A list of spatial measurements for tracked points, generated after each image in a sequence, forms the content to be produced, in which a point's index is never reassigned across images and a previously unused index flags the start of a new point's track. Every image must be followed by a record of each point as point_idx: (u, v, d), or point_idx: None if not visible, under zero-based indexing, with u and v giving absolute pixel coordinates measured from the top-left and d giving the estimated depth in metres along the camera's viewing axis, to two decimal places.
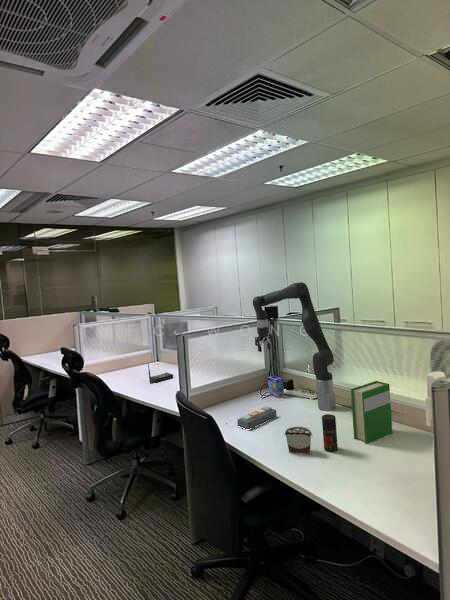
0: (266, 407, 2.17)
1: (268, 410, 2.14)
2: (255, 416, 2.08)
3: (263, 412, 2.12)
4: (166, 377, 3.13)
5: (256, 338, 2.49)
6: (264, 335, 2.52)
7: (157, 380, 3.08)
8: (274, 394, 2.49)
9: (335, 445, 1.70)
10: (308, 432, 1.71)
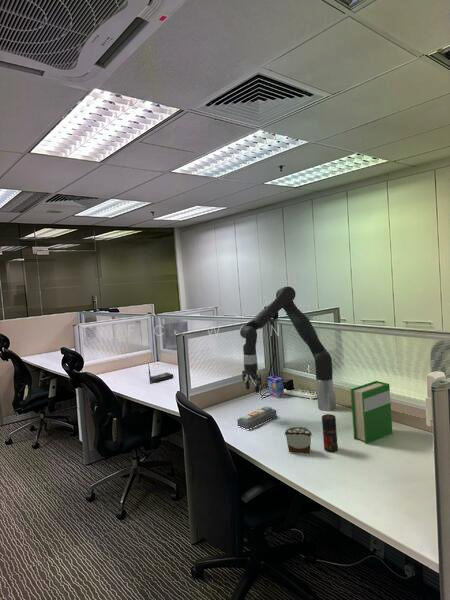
0: (266, 407, 2.17)
1: (268, 410, 2.14)
2: (255, 416, 2.08)
3: (263, 412, 2.12)
4: (166, 377, 3.13)
5: (259, 376, 2.08)
6: None
7: (157, 380, 3.08)
8: (274, 394, 2.49)
9: (335, 445, 1.70)
10: (308, 432, 1.71)
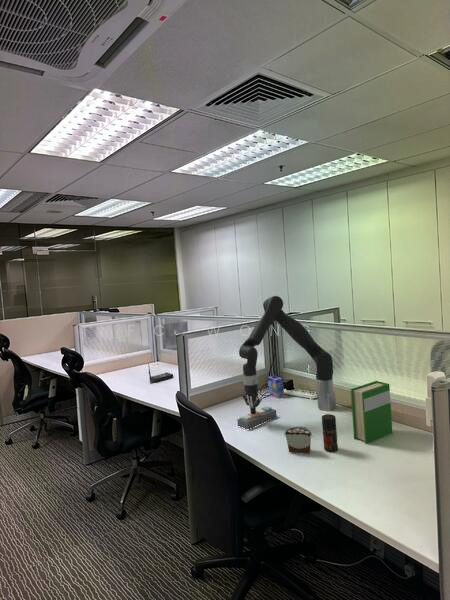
0: (266, 407, 2.17)
1: (268, 410, 2.14)
2: (255, 416, 2.08)
3: (263, 412, 2.12)
4: (166, 377, 3.13)
5: (260, 401, 2.05)
6: None
7: (157, 380, 3.08)
8: (274, 394, 2.49)
9: (335, 445, 1.70)
10: (308, 432, 1.71)
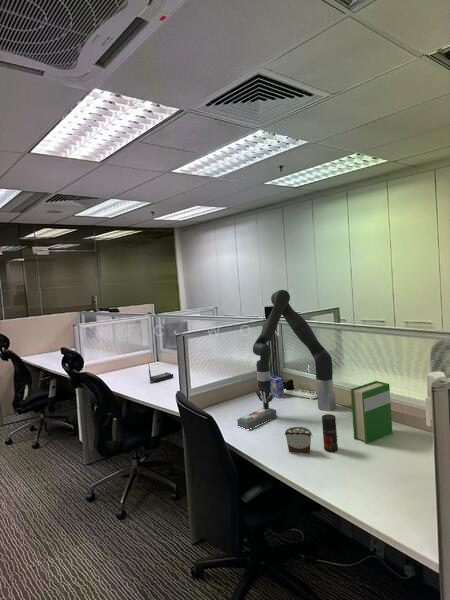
0: None
1: (268, 411, 2.14)
2: None
3: (263, 412, 2.12)
4: (166, 377, 3.14)
5: (273, 396, 2.12)
6: None
7: (157, 380, 3.08)
8: None
9: (335, 445, 1.70)
10: (308, 432, 1.71)
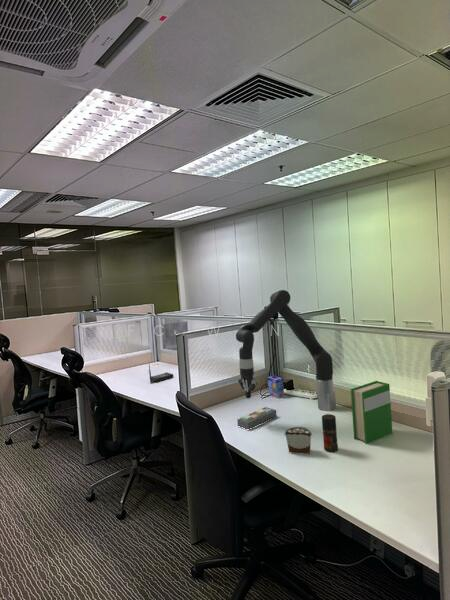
0: (266, 409, 2.17)
1: None
2: None
3: (263, 412, 2.12)
4: (166, 377, 3.14)
5: (255, 385, 2.04)
6: None
7: (158, 380, 3.08)
8: (274, 394, 2.49)
9: (335, 445, 1.70)
10: (308, 432, 1.71)
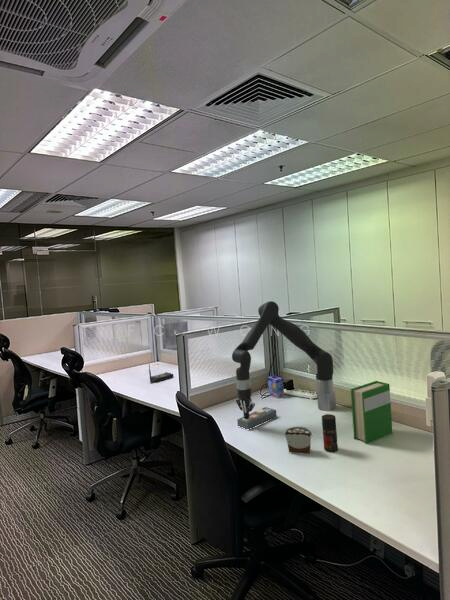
0: (266, 409, 2.17)
1: None
2: None
3: (263, 412, 2.12)
4: (166, 377, 3.14)
5: (253, 406, 2.01)
6: None
7: (158, 380, 3.08)
8: (274, 394, 2.49)
9: (335, 445, 1.70)
10: (308, 432, 1.71)
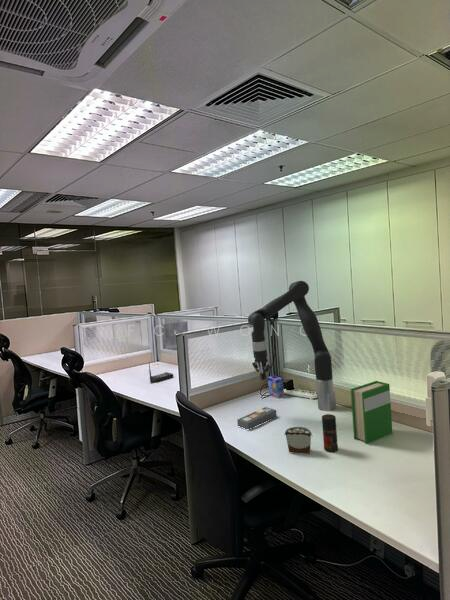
0: (266, 409, 2.17)
1: None
2: None
3: (263, 412, 2.12)
4: (166, 377, 3.14)
5: (269, 366, 2.09)
6: None
7: (158, 380, 3.09)
8: (274, 394, 2.49)
9: (335, 445, 1.70)
10: (308, 432, 1.71)
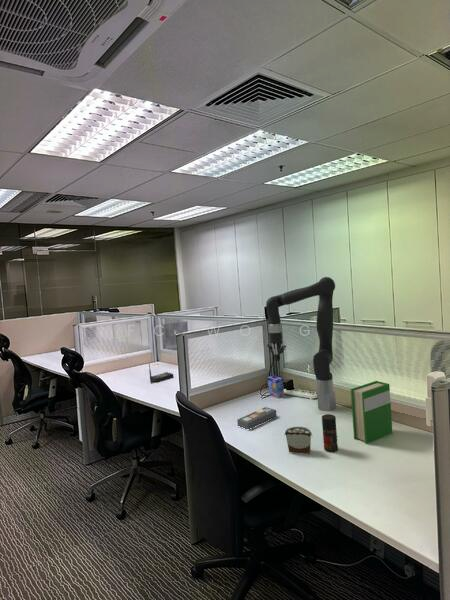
0: (266, 409, 2.17)
1: None
2: None
3: (263, 412, 2.12)
4: (167, 376, 3.14)
5: (284, 347, 2.20)
6: None
7: (158, 380, 3.09)
8: (274, 394, 2.49)
9: (335, 445, 1.70)
10: (308, 432, 1.71)
